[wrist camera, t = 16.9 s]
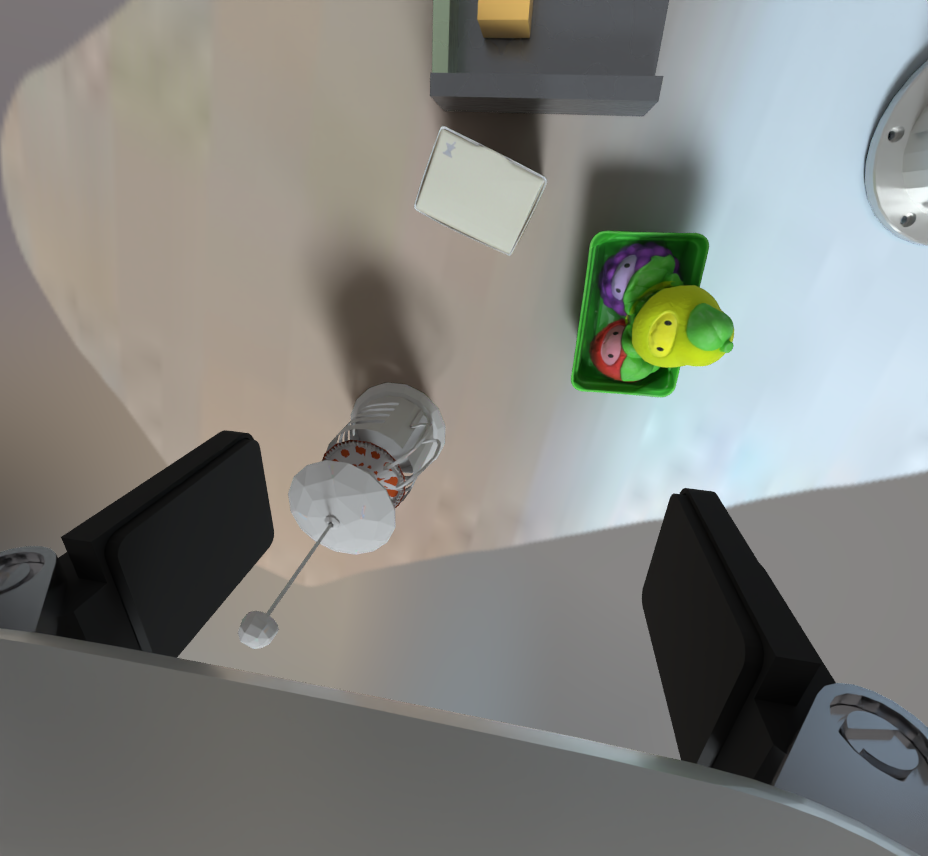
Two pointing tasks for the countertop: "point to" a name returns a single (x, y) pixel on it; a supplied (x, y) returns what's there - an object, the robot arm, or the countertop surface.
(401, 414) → the french press
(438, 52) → the box
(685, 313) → the fruit basket
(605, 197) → the countertop surface
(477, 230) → the skincare box
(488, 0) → the slider
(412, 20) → the countertop surface
